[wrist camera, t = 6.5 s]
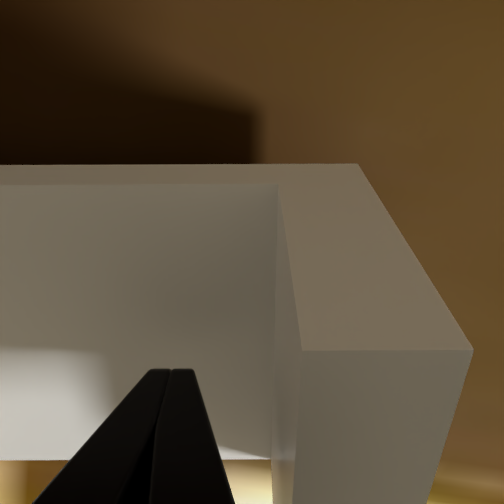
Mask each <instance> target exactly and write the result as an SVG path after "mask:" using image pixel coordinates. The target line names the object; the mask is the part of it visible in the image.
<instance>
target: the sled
mask: <svg viewBox="0 0 504 504" xmlns="http://www.w3.org/2000/svg"><path fill="white" fill-rule="evenodd" d="M473 351H474V349H473V348H472V346H471V344H470V343H469V341H468V340H467V338H466V336H465V335H464V333H463V332H462V330H461V328H460V327H459V325H458V324H457V322H456V320H455V319H454V317H453V316H452V314H451V312H450V311H449V309H448V308H447V306H446V304H445V303H444V301H443V300H442V298H441V296H440V295H439V293H438V292H437V290H436V288H435V287H434V285H433V284H432V282H431V280H430V279H429V277H428V276H427V274H426V272H425V271H424V269H423V268H422V266H421V264H420V263H419V261H418V260H417V258H416V256H415V255H414V253H413V252H412V250H411V248H410V247H409V245H408V244H407V242H406V240H405V239H404V237H403V236H402V234H401V232H400V231H399V229H398V228H397V226H396V224H395V223H394V221H393V220H392V218H391V216H390V215H389V213H388V212H387V210H386V208H385V207H384V205H383V204H382V202H381V200H380V199H379V197H378V196H377V194H376V192H375V191H374V189H373V188H372V186H371V184H370V183H369V181H368V180H367V178H366V176H365V175H364V173H363V172H362V170H361V168H360V167H359V165H358V164H149V165H0V460H70V459H71V458H72V457H73V456H74V455H75V454H76V452H77V451H78V450H79V449H80V448H81V447H82V446H83V444H84V443H85V442H86V441H87V440H88V439H89V438H90V436H91V435H92V434H93V433H94V432H95V431H96V430H97V428H98V427H99V426H100V425H101V424H102V423H103V422H104V420H105V419H106V418H107V417H108V416H109V415H110V414H111V412H112V411H113V410H114V409H115V408H116V407H117V406H118V404H119V403H120V402H121V401H122V400H123V399H124V398H125V396H126V395H127V394H128V393H129V392H130V391H131V390H132V388H133V387H134V386H135V385H136V384H137V383H138V382H139V380H140V379H141V378H142V377H143V376H144V375H145V374H146V372H147V371H148V370H150V369H154V368H169V369H171V370H172V369H174V368H192V369H193V370H194V371H195V374H196V377H197V381H198V384H199V387H200V391H201V394H202V397H203V400H204V404H205V407H206V410H207V413H208V417H209V420H210V423H211V427H212V430H213V433H214V436H215V440H216V443H217V446H218V449H219V453H220V456H221V459H271V470H272V493H273V504H426V502H427V499H428V496H429V493H430V489H431V486H432V483H433V480H434V477H435V473H436V470H437V467H438V464H439V461H440V457H441V454H442V451H443V448H444V445H445V441H446V438H447V435H448V432H449V428H450V425H451V422H452V419H453V416H454V412H455V409H456V406H457V403H458V400H459V396H460V393H461V390H462V387H463V384H464V380H465V377H466V374H467V371H468V368H469V364H470V361H471V358H472V355H473Z"/></svg>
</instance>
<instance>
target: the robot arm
mask: <svg viewBox="0 0 504 504" xmlns="http://www.w3.org/2000/svg"><path fill="white" fill-rule="evenodd" d="M32 504H235V502H234V499H233V495H232V492H231V489H230V485H229V482H228V479H227V476H226V472H225V469H224V466H223V463H222V459H221V456H220V453H219V449H218V446H217V443H216V440H215V436H214V433H213V430H212V427H211V423H210V420H209V417H208V413H207V410H206V407H205V404H204V400H203V397H202V394H201V391H200V387H199V384H198V381H197V377H196V374H195V371H194V370H193V369H192V368H174V369H172V370H171V369H169V368H154V369H150V370H148V371H147V372H146V374H145V375H144V376H143V377H142V378H141V379H140V380H139V382H138V383H137V384H136V385H135V386H134V387H133V388H132V390H131V391H130V392H129V393H128V394H127V395H126V396H125V398H124V399H123V400H122V401H121V402H120V403H119V404H118V406H117V407H116V408H115V409H114V410H113V411H112V412H111V414H110V415H109V416H108V417H107V418H106V419H105V420H104V422H103V423H102V424H101V425H100V426H99V427H98V428H97V430H96V431H95V432H94V433H93V434H92V435H91V436H90V438H89V439H88V440H87V441H86V442H85V443H84V444H83V446H82V447H81V448H80V449H79V450H78V451H77V452H76V454H75V455H74V456H73V457H72V458H71V459H70V460H69V462H68V463H67V464H66V465H65V466H64V467H63V468H62V470H61V471H60V472H59V473H58V474H57V475H56V476H55V478H54V479H53V480H52V481H51V482H50V483H49V484H48V486H47V487H46V488H45V489H44V490H43V491H42V492H41V494H40V495H39V496H38V497H37V498H36V499H35V500H34V502H33V503H32Z"/></svg>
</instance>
